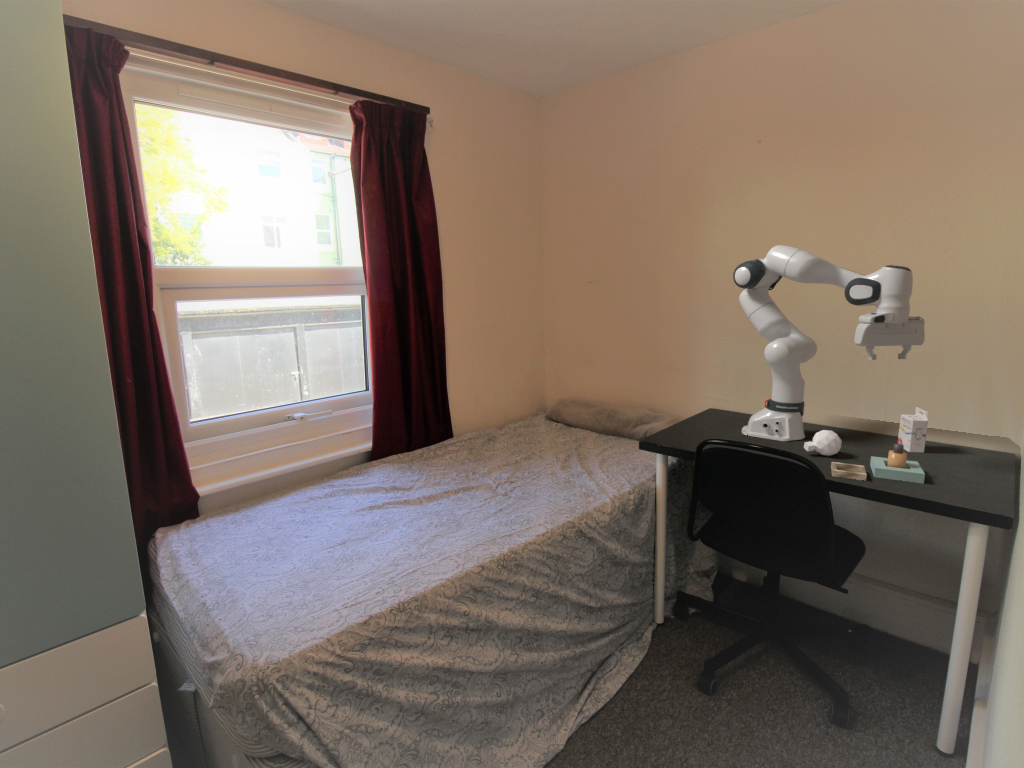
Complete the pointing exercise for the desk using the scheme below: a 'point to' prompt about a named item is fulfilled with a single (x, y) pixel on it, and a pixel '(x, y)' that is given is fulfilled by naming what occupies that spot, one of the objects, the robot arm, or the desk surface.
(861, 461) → the desk surface
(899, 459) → the plug
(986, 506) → the desk surface
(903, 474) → the socket block
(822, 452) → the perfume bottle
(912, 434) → the ink cartridge box
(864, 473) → the square wooden frame
